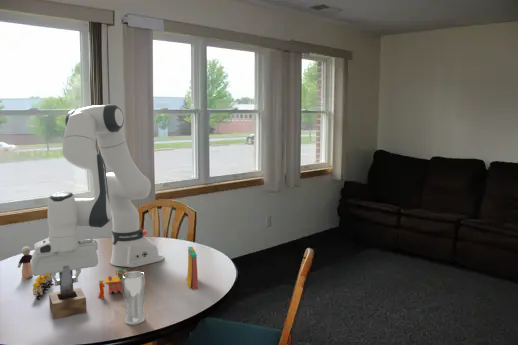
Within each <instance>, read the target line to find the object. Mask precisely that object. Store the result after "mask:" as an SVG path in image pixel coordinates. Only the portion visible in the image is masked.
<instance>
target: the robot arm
mask: <svg viewBox="0 0 518 345" xmlns="http://www.w3.org/2000/svg"><path fill="white" fill-rule="evenodd" d="M124 120H125V119H124V112H123V110H122V109H121V108H120V107H119V106H118V105H116V104H111V103H110V104H106V105H105V104H101V105H99V104H98V105H91V106H86V107H82V108H74V109H72V110H70V111H68V113H67V114H66V115H65V120H64V122H65V128H64V129H65V130H64V134H63V138H62V139H63V140H62V155H63V157H64V159H65V160H66V161H67V162H68V163H69V164H71V165H73V166H75V167H76V168H80V169H82V170H85V171H88V172H89V173H91V174H92V177H93V178H92V179H93V187H94V188H93V190H94V196H93V197H89V198H88V197H87V198H85V197H84V198H83V197H79V198H78V197H75V195H74V194H73V193H72V192H70V191H59V192H55V193H53V194H51V195H49V196H48V201H47V224H48V227H49V230H48V231H49V232H48V237H47V238H44V239H42V240H40V241H37V242H36V243H34V245H33V248H34V249H33V250H34V252H33V253H32V254H31V255H32V259H31V273H32V274H33V277H39V276H40V275H46V274H51V277H52V280H53V281H54V286H55V287H57V286H60V278H57V277H56V275H57V273H58V274H59V272H63V267H64V266H69V269H70V270H72V271H75V274H74V275H73V284H76V283H78V282H79V280H78V279H79V276H80V274H81V272H82V269H89V268H94V267H97V266H98V265H99V258H98V252H97V251H98V248H99V245H98V242H97V241H96V240H95V239H92V238H90V239H82V240H79V231H78V230H79V229H78V228H77V227H82V228H83V227H89V228H90V227H91V228H103V227H105V226H106V225H107V224H108V223H109V222H110V221H111V220H112V221H111V222H112V230H111V243H112V253H111V258H110V262H109V263H110V264H111V265H112V266H115V267H128V268H137V267H141V266H144V265H150V264H154V263H157V262H162V261H163V260H164V254H162V253H161V252H160V251H159V250H158V249H159V248H158V247H157V244H156V243H155V242H153V241H152V240H151V239H149V238H147V237H146V236H147V235H148V231H147V230H145V229H143V228H140V214H139V210H138V208H137V207H136V206H135V205H134V204H133V202H132V200H133V201H135V200H143V199H146V198H147V197H148V196H149V195H150V193H151V189H152V184H151V181H150V178H148V177H147V176H145V175H144V174H143V173H142V172H141V170H140V169H139V168H138V166H137V165H136V164H135V162H134V160H133V158H132V156H131V153H130V149H129V147H128V146H129V145H128V144H127V140H126V137H125V133H124V131H123V126H124ZM96 145H97V146H98V150H99V153H100V154H99V153H98V151H97V147H96ZM106 169H109V170H110V172H107V170H106Z"/></svg>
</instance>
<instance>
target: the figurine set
mask: <svg viewBox="0 0 518 345" xmlns="http://www.w3.org/2000/svg"><path fill="white" fill-rule="evenodd" d="M53 281H54V280H53V278H52V277H51V274H46V275H39V276H36V278H35V282H34V283H33V284H32V295H33V296H34V298H35V300H36V301H40V300H41V298H42V297H44V294H45V295H46V292H47V291H49V289H50V288H51V286H53V285H54V283H53Z"/></svg>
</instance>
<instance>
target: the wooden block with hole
mask: <svg viewBox="0 0 518 345" xmlns="http://www.w3.org/2000/svg"><path fill="white" fill-rule="evenodd" d="M73 291H74V297H73V298H68V299H63V300H61V295H60V290H59V291H55V292H49V293H48V298H49V302H48V303H49V309H50V312H51V315H52V319H53V320H54V319H55V320H56V319H60V318H64V317H70V316H75V315H80V314H84V313H85V314H86V313H88V312H87V311H88V310H87V297H86V295H85V293H84V291H83V289H82V288H81V287H77V288H76V287H75V288H73Z"/></svg>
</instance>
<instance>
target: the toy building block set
mask: <svg viewBox="0 0 518 345" xmlns="http://www.w3.org/2000/svg"><path fill="white" fill-rule="evenodd" d="M187 250H188V254H187V255H188V257H187V258H188V259H187V264H188V266H187V277H186V282H187V285H188V288H189V289H192V290H193V291H194V290H195V291H196V290H199V280H198V279H199V278H198V260H197V258H198V257H197V256H198V254H197V253H196V251H195V249H194V247H193V246H187ZM127 272H128V271H127V268H126V269H116V270H115V274H116V275H117V276H115V275H114V276H110V275H109V276H107V277H105V279H104V280H105V282H104V280H103V279H100V280H99V281H98V282H99V283H98V286H99V293H98V299H104V296H105V291H104V290H105V289H104V288H105V284H106V285H108V294H109V295H111V294H112V291H113V292H114V294H118V291H120V293H122V275H123V274H124V273H127ZM122 294H123V293H122Z"/></svg>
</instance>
